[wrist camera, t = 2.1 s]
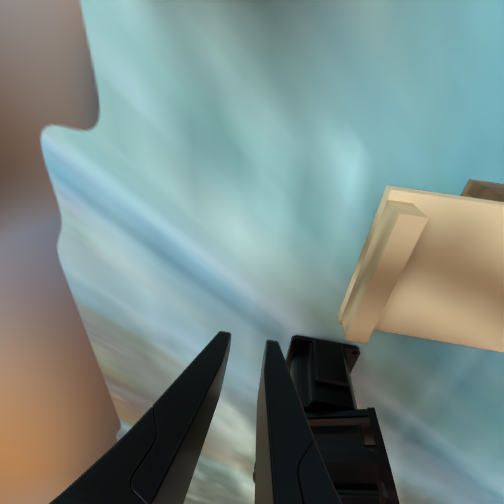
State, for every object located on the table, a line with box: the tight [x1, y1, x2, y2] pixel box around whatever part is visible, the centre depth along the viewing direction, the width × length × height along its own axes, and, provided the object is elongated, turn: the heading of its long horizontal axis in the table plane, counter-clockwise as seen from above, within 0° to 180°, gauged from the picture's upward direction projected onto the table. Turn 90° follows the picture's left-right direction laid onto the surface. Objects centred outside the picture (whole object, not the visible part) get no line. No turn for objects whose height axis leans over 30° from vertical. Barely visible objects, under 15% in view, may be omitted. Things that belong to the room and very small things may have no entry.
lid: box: [338, 186, 504, 352], centre depth 14 cm, size 9×11×2 cm
